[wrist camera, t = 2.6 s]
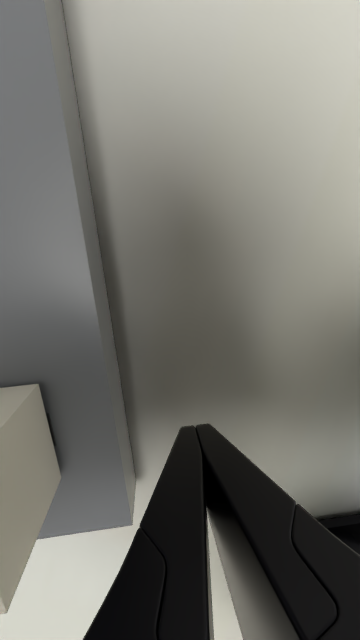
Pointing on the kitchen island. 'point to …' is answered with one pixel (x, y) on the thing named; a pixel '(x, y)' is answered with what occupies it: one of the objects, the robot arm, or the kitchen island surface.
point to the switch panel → (57, 275)
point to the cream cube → (23, 481)
